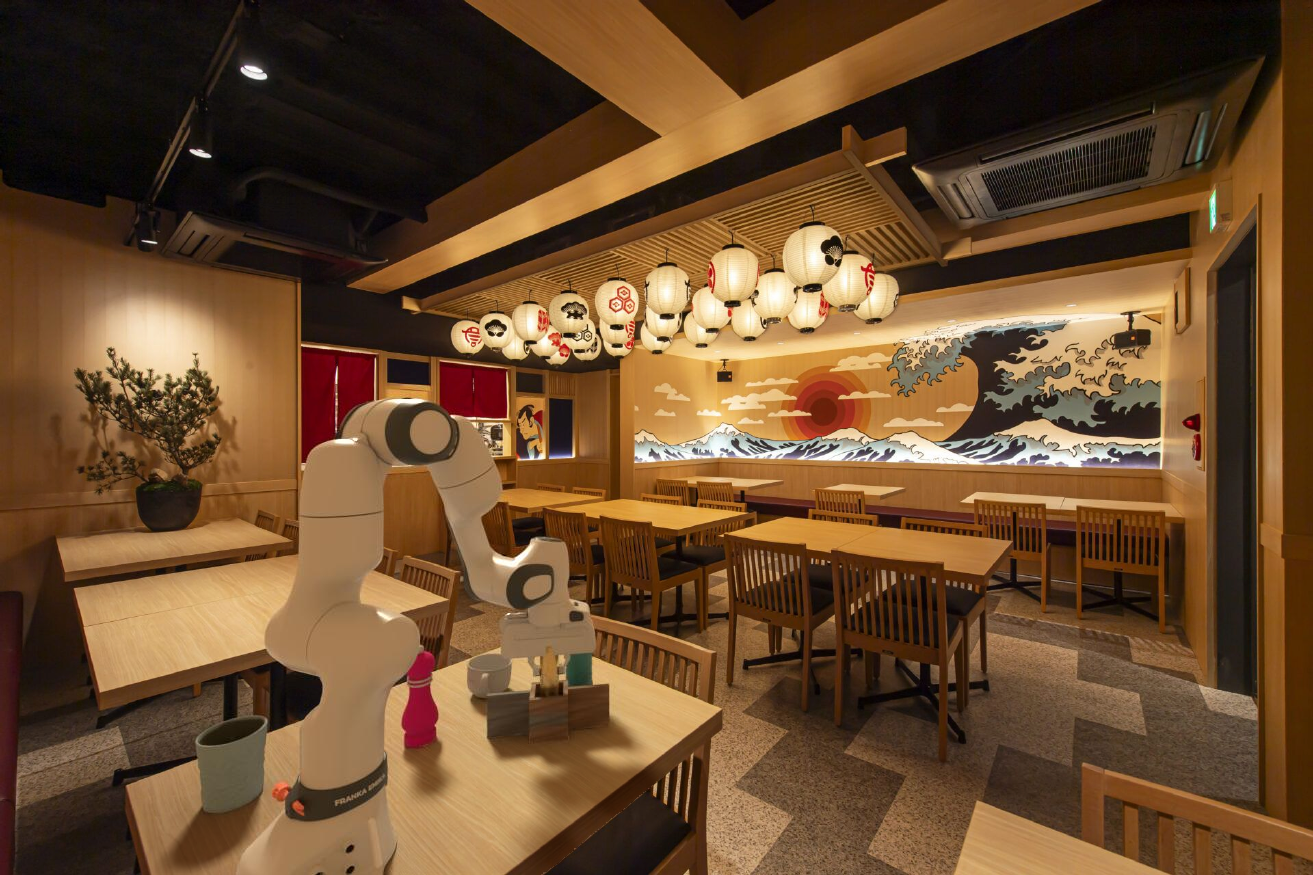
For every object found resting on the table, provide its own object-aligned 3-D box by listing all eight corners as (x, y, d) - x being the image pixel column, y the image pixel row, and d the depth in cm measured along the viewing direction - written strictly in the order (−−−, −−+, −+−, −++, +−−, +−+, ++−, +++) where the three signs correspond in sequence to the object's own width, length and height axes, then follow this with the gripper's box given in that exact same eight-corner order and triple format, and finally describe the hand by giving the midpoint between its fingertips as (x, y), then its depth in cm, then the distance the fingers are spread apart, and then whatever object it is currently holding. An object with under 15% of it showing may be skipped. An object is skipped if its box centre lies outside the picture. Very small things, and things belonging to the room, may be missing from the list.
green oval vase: (211, 824, 88) (211, 752, 88) (185, 803, 93) (184, 736, 92) (279, 788, 97) (278, 723, 96) (251, 771, 101) (251, 709, 101)
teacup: (476, 681, 138) (476, 651, 137) (518, 682, 137) (517, 651, 137) (454, 709, 124) (454, 676, 124) (500, 710, 123) (499, 676, 123)
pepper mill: (424, 751, 108) (424, 653, 107) (393, 747, 109) (392, 650, 109) (445, 731, 115) (445, 640, 114) (416, 728, 116) (415, 637, 116)
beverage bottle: (581, 715, 121) (580, 628, 121) (559, 707, 124) (558, 623, 124) (598, 703, 126) (598, 619, 126) (577, 695, 130) (576, 614, 130)
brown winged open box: (610, 735, 113) (610, 693, 113) (484, 747, 109) (484, 704, 109) (608, 715, 121) (607, 676, 121) (490, 726, 117) (489, 685, 117)
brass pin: (549, 722, 112) (548, 647, 112) (536, 716, 114) (535, 643, 114) (562, 714, 115) (562, 641, 115) (550, 708, 118) (549, 637, 118)
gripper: (497, 619, 110) (498, 685, 110) (596, 612, 113) (596, 677, 113) (501, 609, 116) (501, 671, 116) (594, 603, 119) (595, 664, 120)
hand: (549, 674), depth 115 cm, fingers closed on brass pin, 4 cm apart
